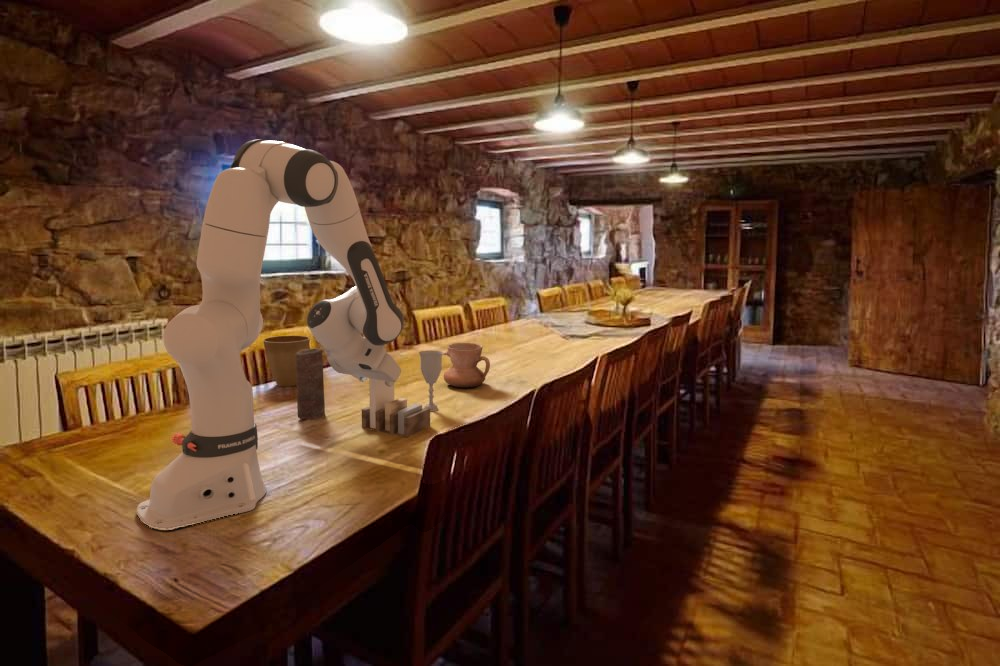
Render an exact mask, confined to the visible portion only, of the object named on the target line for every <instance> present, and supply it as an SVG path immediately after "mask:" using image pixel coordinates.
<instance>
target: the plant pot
mask: <svg viewBox="0 0 1000 666" xmlns="http://www.w3.org/2000/svg"><path fill="white" fill-rule="evenodd" d="M310 339H311V338H310V337H309V336H306V335H305V336H304V335H278V336H269V337H265V338H264V339H263V341H262V342H263V345H264V351H265V355H266V358H267V362H268V363H267V364H268V365H269V369H270V371H271V374H272V377H273V379H274V381H275V383H276V385H277V386H278V387H284V388H286V387H294V386H295V385H296V386H297V379H296V353H297V352H299V351H300V350H302V349H310Z"/></svg>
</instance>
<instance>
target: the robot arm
mask: <svg viewBox="0 0 1000 666" xmlns="http://www.w3.org/2000/svg"><path fill="white" fill-rule="evenodd" d="M278 202H281V203H285V204H291V205H297V206H299V207H302V208H304V210H305V213H306V214H305V215H306V217H307V221H308V223H309V226H310V229H311V231H312V233H313V235H314V236H315V237H314V238H316V240H317V242H318V243H319V244H320V247H322V249H323V250H324V251H325V252H327V253H328V254H329V255H330V256H331V257H332V258H333V259H334V260H336V262H338V263H339V264H340V265H341V266H342V267H343V268H344V269H345V271H347V273H348V275H350V277H351V279H352V280H353V283H354V285H355V286H352V287H350V288H348V289H347V290H346V291H345V292H344V293H343V294H340V295H338V296H336V297H335V298H332V299H331V298H330V299H323V300H320V301H318V302H316V303H315V304H314V305H312V307H311V308H310V310H309V311H308V314H307V318H306V323H307V327H308V330H309V331H310V333H311V334H312V336H313V338H314V339H315V340H316V341H317V342H318V343H319V344H320V345H321V347H322V349H323V348H324V349H323V354H324V355H325V356H326V357H327V358H326V360H327V362H328V363H329V365H330V366H331V368H332V369H333V371H335V372H337V373H338V374H343V375H350V376H352V377H353V378H355V379H357V380H358V381H359V382H361V383H366V382H367V380H368V379H369V378H372V379H378V380H384V381H385V385H386V386H389V387H392V386H393V384H394V385H395V383H396V382H397V381H398V380H399V377H400V375H401V373H402V368H401V367H400V365H399V364H398V363H397V361H396V360H395V359H394V358H393V356H392V355H391V354H389V353H388V352H387V348H386V346H385V345H388V344H391V343H392V342H394V341H395V340H396V339H398V337H399V336H400V335H401V333H402V330H403V328H404V326H405V325H404V323H405V318H404V316H405V315H404V313H403V312H402V311H401V309H400V308H399V307H397V306H396V304H395V303H394V302H393V300H392V297H391V295H390V292H389V290H388V286H387V284H386V281H385V278H384V274H383V273H382V269H381V267H380V264H379V262H378V259H377V257H376V255H375V251H374V249H373V246H372V243H371V241H370V239H369V236H368V233H367V229H366V227H365V223H364V221H363V217H362V214H361V210H360V206H359V203H358V199H357V197H356V193H355V191H354V188H353V186H352V183H351V182H350V179H349V177H348V175H347V173H346V172H345V169H344V167H342V166H341V165H340V164H339V163H337V162H336V161H333V160H329V159H328V158H327V157H326V156H325V155H323V154H322V153H320V152H318V151H316V150H313V149H309V148H307V149H306V148H303V147H301V146H298V145H295V144H292V143H290V142H284V141H279V140H278V141H277V140H269V139H265V138H260V139H259V138H258V139H253V140H249V141H247V142H244V144H242V145H241V146H240V147H239V148H238V150H237V151H236V153H235V155H234V157H233V162H232V163H231V164H230V167H229V168H226V169H224V170H222V171H220V172H219V173H218V174H217V177H215V180H214V183H213V185H212V188H211V190H210V193H209V196H208V200H207V203H206V205H205V207H206V208H205V210H204V215H203V221H202V225H201V232H200V237H199V244H198V250H197V256H196V268H197V270H198V272H199V274H200V277H201V279H200V280H201V287H202V299H201V302H200V303H199V304H196V305H192V306H189V307H187V308H185V309H182V311H180V312H179V313H178V314H176V315H175V316H174V317H173V318H172V319H171V320H170V321H169V322H168V323H166V326H165V328H164V330H163V345H164V348H165V350H166V352H167V354H168V355H169V356H170V357H171V358H172V359H173V360H174V361H175V362H177V364H178V366H179V368H180V370H181V373H182V376H183V378H184V381H185V385H186V389H187V392H188V399H189V408H190V421H191V429H190V431H189V432H188V434H187V435H183V434H182V433H180V432H177V433H174V434H173V436H172V437H171V441H172V443H174V444H176V445H177V446H181V450H182V452H181V453H180V454H179V455H178V456H176V458H174V459H173V460H172V461H171V462H170V463H169V464H168V465H166V466H165V467H164V468H163V469H162V470H160V472H158V473H157V474H156V475H155V476H154V478H153V480H152V482H151V486H150V493H149V499H146V500H144V501H142V502H140V503H139V504H138V505H137V507H136V516H137V515H138V516H139V518H140V519H141V520H142V521H144V522H145V523H146V524H148V525H151V526H153V527H158V528H166V529H168V528H173V527H177V526H182V525H186V524H192V523H197V522H202V521H206V520H211V519H215V520H217V519H216V518H219V519H221V518H220V517H223V518H225V517H224V516H227V517H229V516H228V515H231V516H234V515H233V514H235V515H237V514H238V513H239V514H243V513H246V512H250V511H253V510H254V509H255V508H256V506H257V503H258V502H259V500H261V499H262V498H263V497H265V495H266V493H267V487H266V485H265V481H264V479H263V475H262V473H261V468H260V463H259V459H258V452H257V450H258V447H259V446H258V445H259V443H258V442H259V441H258V440H259V438H258V437H259V436H258V435H259V434H258V428H257V427H258V426H257V425H258V424H256V423H255V414H254V413H255V412H254V396H253V395H254V393H253V386H252V384H251V382H249V380H248V379H247V377H246V374H245V371H244V368H243V364H242V358H241V352H242V351H244V350H245V349H248V348H249V347H251V345H253V343H254V342H256V341H257V339H258V338H259V336H260V334H261V333H262V331H263V328H264V327H263V326H264V318H263V315H262V313H261V277H262V276H261V275H262V267H263V262H264V258H265V251H266V246H267V241H268V236H269V230H270V222H271V221H270V220H271V214H272V212H273V209H274V207H275V206H276V205H277V204H278ZM139 518H138V519H139ZM211 521H212V520H211ZM159 523H161V524H159Z"/></svg>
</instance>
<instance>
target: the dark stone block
mask: <svg viewBox="0 0 1000 666" xmlns="http://www.w3.org/2000/svg"><path fill="white" fill-rule="evenodd" d="M323 357H324V356H323V348H311V349H310V348H309V349H302V350H300V351H299V352H297V353H296V379H297V385H296V406H297V407H296V409H297V418H298V419H300V420H316V419H317V420H318V419H320V418H321V419H322V418H324V417H326V411H325V410H326V409H325V408H326V407H325V405H326V404H325V385H324V363H323V362H324V361H323V360H324V359H323Z"/></svg>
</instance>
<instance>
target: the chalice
mask: <svg viewBox="0 0 1000 666" xmlns="http://www.w3.org/2000/svg"><path fill="white" fill-rule="evenodd" d="M443 352H444V351H441V350H432V349H431V350H421V351H419V352H418V354H419V357H420V371H421V375H422V376H423V377H422V378H423V379H424V381H425V383H426V384H428V386H429V388H428V392H429V394H428V396H427V397H428V398H429V399H428V400H429V402H428V403H427V404H425V406H424V408H423V409H425V408H430V412H437V411H438V410H439V408H438V405H437V404H436V403H434V402H433V399H434V398H435V395H434V394H433V393H434V391H435V390H434V387H433V386H434V384H437V382H438V379H439V377H440V374H441V372H442V370H443V369H442V368H443V366H442V362H443V361H442V359H443V356H444V355H443Z"/></svg>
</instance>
